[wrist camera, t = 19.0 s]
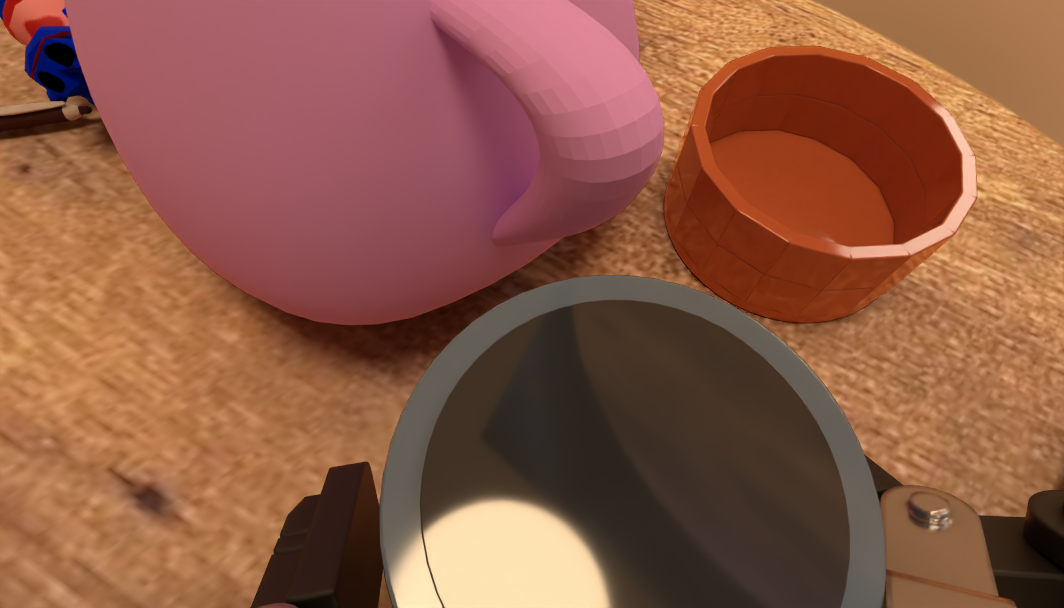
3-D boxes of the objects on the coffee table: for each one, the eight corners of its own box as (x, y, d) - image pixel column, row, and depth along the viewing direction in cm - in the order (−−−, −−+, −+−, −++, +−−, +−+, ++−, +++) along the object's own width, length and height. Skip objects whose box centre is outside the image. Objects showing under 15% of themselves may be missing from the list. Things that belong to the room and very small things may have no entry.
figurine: (143, 8, 21) (212, 113, 25) (64, -70, 24) (137, 35, 28) (11, 72, 20) (107, 171, 24) (-56, -21, 22) (40, 83, 27)
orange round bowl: (640, 281, 22) (668, 209, 18) (687, 110, 26) (718, 22, 22) (893, 354, 21) (982, 295, 17) (900, 164, 25) (973, 80, 21)
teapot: (810, 220, 24) (1197, -288, 10) (374, 541, 18) (-65, 331, 4) (518, -30, 30) (522, -526, 17) (136, 139, 25) (-313, -419, 11)
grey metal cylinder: (429, 634, 17) (275, 680, 6) (500, 436, 19) (484, 219, 9) (634, 713, 16) (883, 930, 5) (678, 496, 19) (904, 341, 8)
